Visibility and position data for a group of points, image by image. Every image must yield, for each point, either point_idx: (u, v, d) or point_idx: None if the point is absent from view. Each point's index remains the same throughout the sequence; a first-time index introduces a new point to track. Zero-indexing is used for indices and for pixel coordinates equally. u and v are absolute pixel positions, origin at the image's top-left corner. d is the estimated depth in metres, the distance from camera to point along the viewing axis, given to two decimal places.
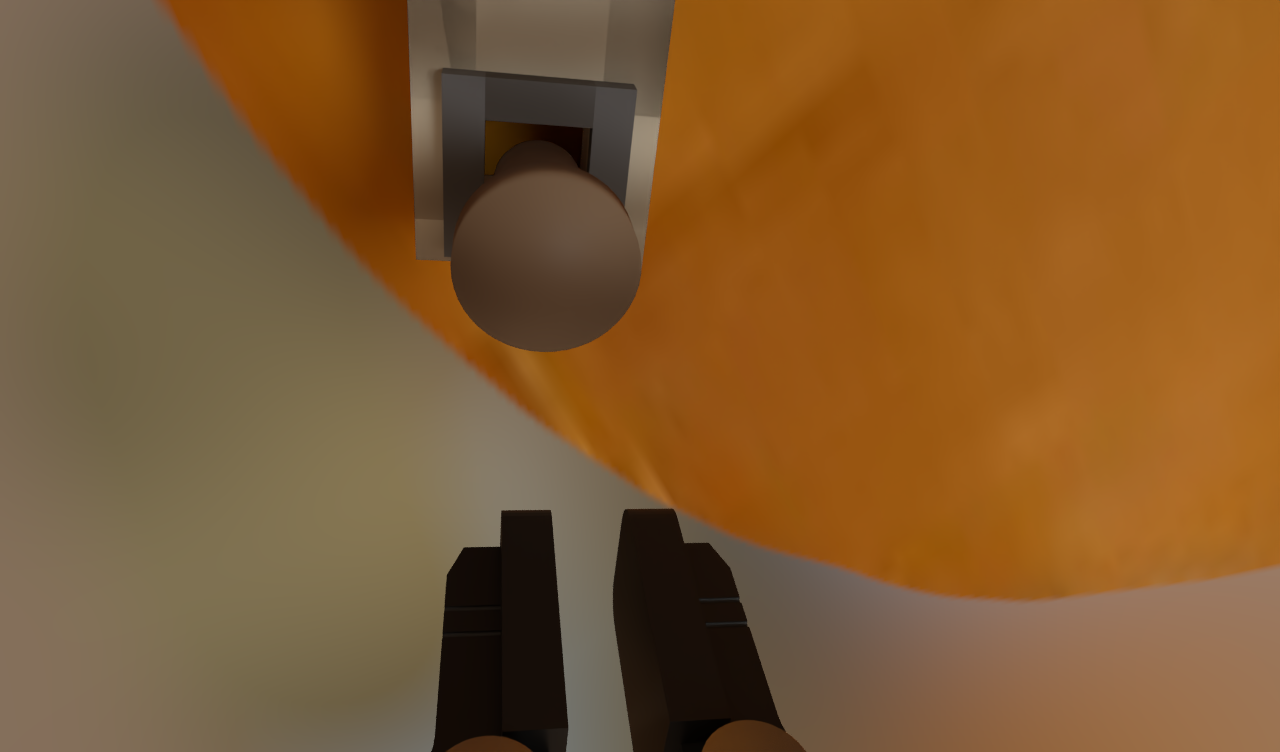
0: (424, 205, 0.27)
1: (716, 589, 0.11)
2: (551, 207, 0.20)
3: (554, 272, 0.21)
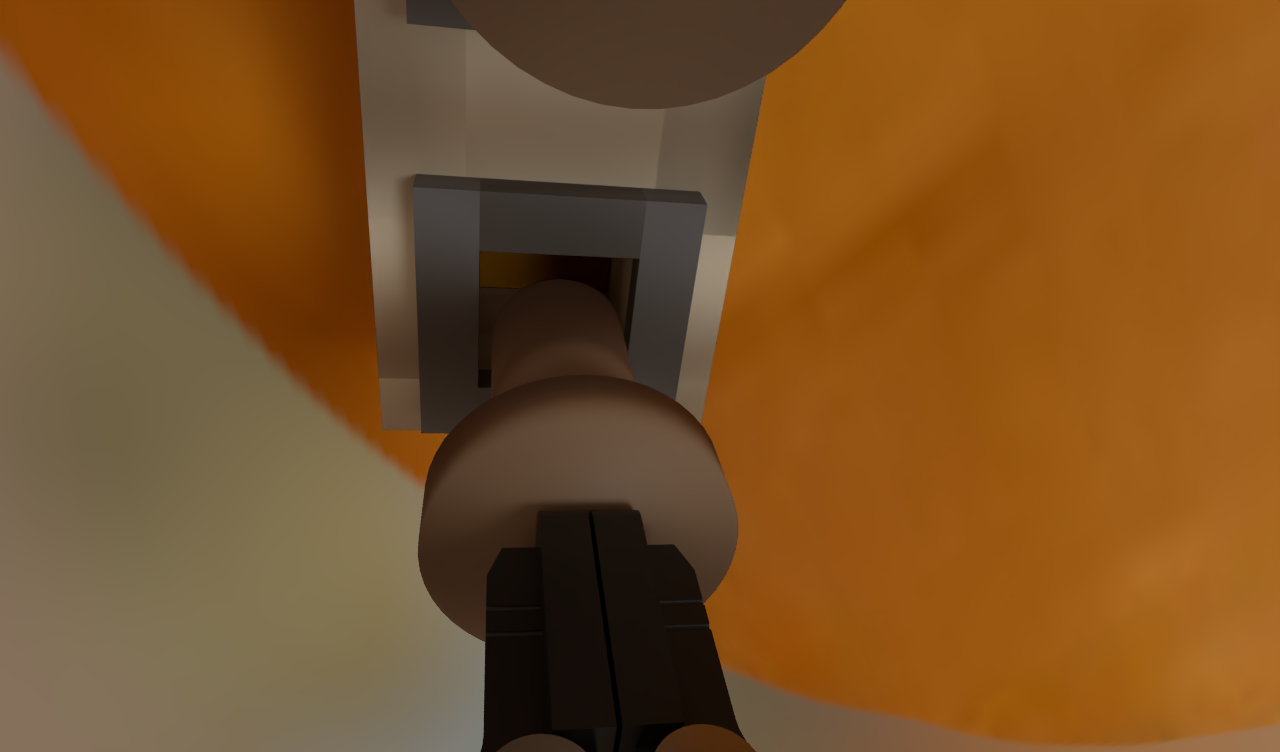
0: (392, 360, 0.19)
1: (679, 591, 0.11)
2: (592, 464, 0.11)
3: None
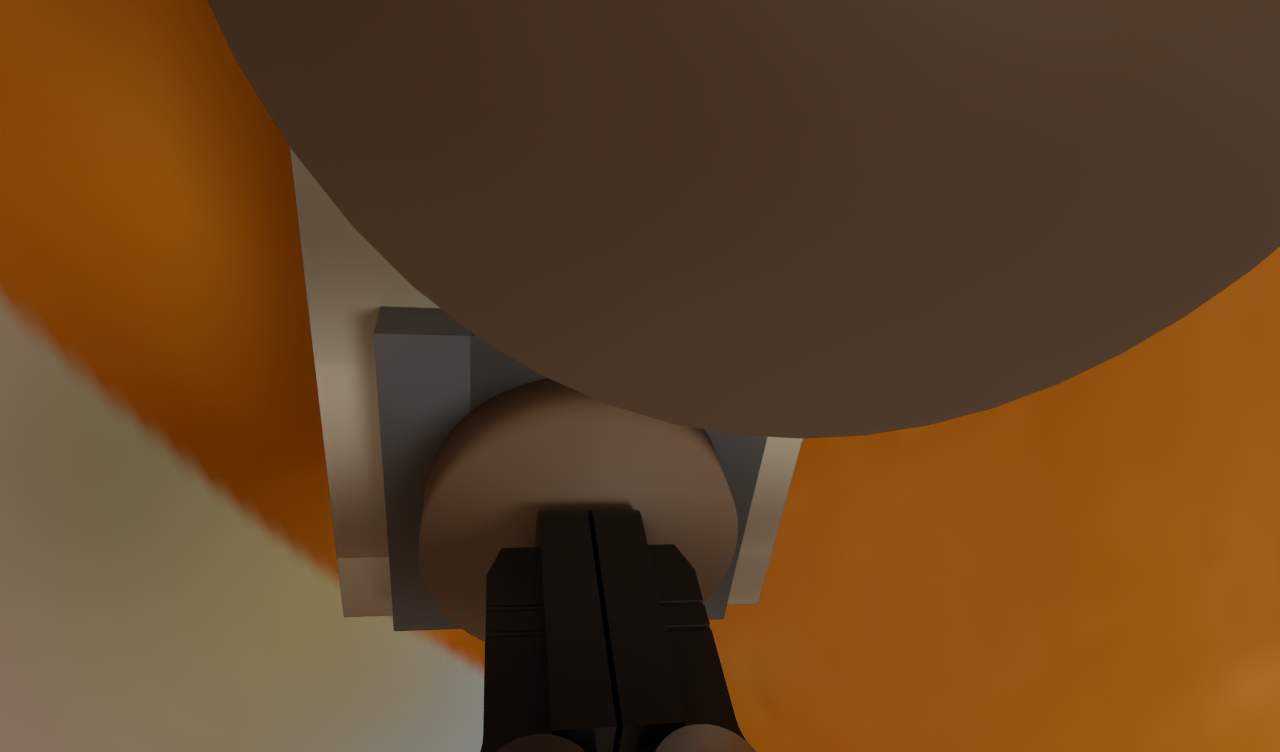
0: (354, 536, 0.14)
1: (679, 591, 0.11)
2: (592, 464, 0.11)
3: None
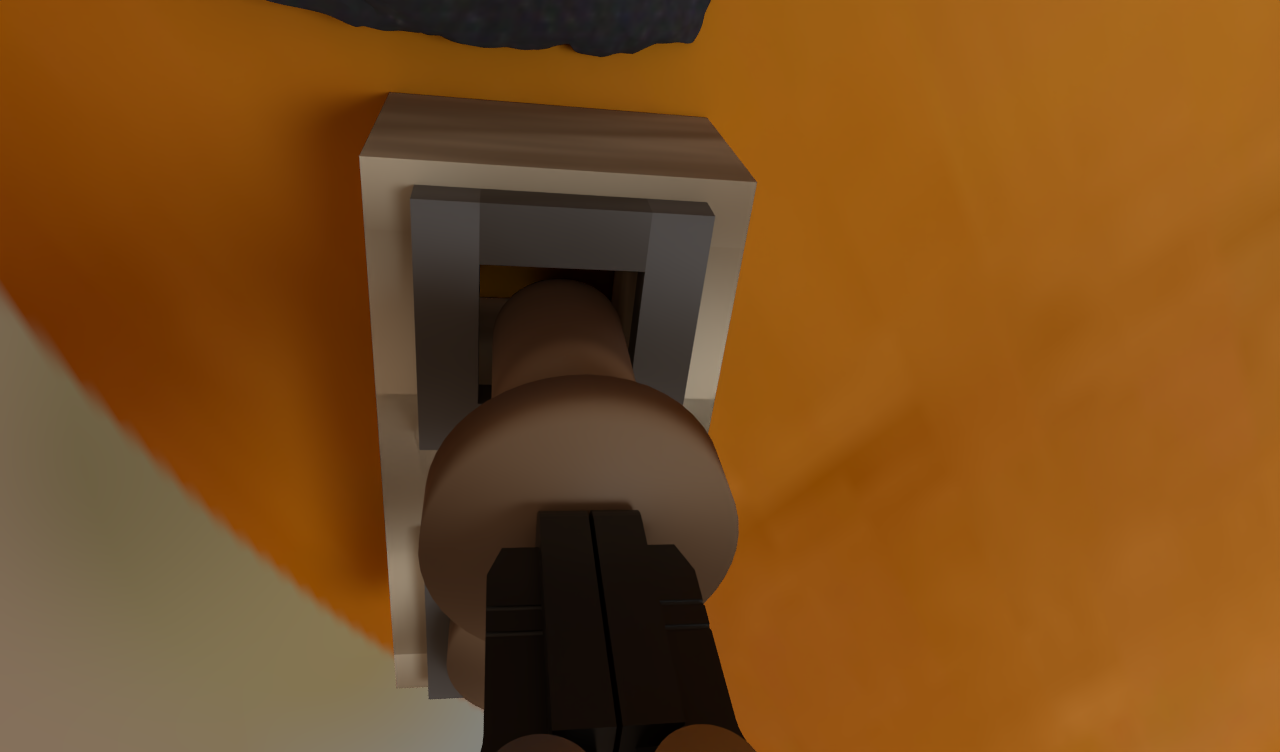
0: (405, 642, 0.23)
1: (680, 591, 0.11)
2: None
3: None
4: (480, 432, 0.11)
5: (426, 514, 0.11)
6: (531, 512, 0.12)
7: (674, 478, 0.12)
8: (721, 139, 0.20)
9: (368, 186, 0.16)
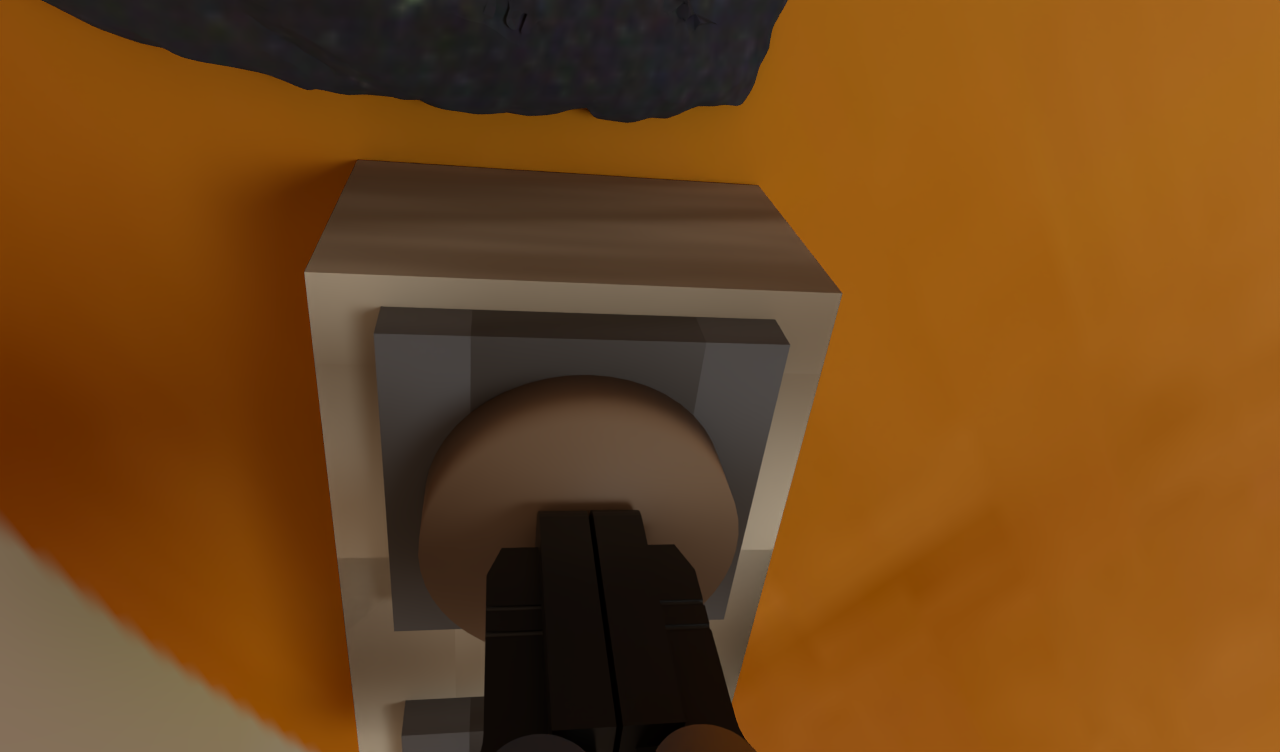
0: None
1: (680, 591, 0.11)
2: None
3: None
4: (480, 432, 0.11)
5: (426, 515, 0.11)
6: (531, 512, 0.12)
7: (674, 478, 0.12)
8: (782, 220, 0.15)
9: (318, 310, 0.12)
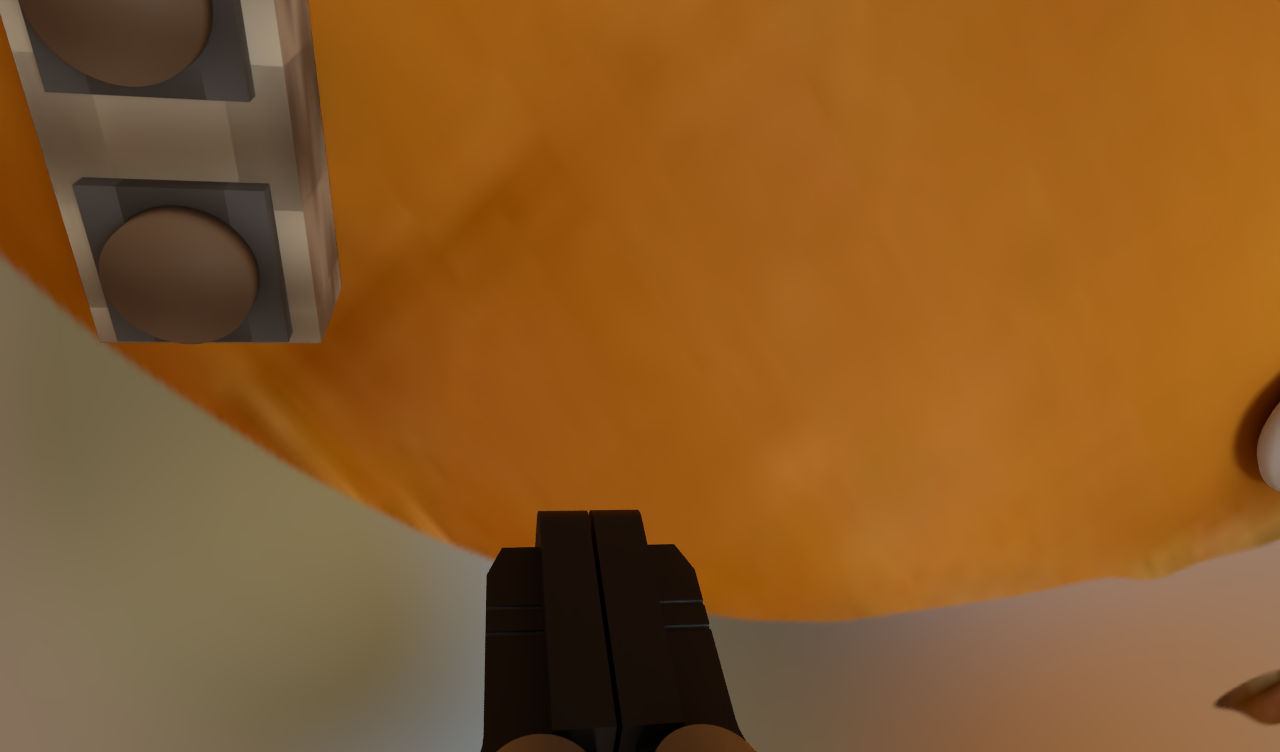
0: (96, 295, 0.30)
1: (679, 591, 0.11)
2: (166, 238, 0.27)
3: (182, 285, 0.28)
4: None
5: None
6: None
7: None
8: None
9: None
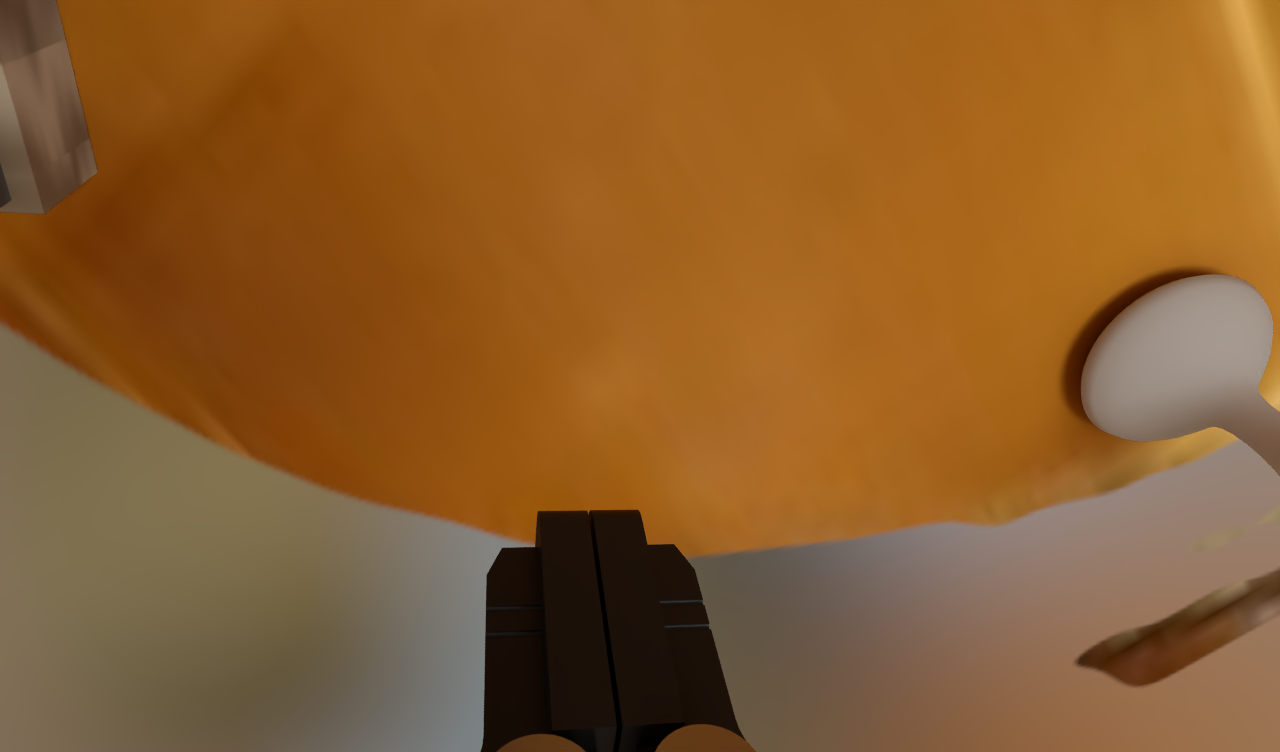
0: None
1: (679, 591, 0.11)
2: None
3: None
4: None
5: None
6: None
7: None
8: None
9: None
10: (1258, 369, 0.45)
